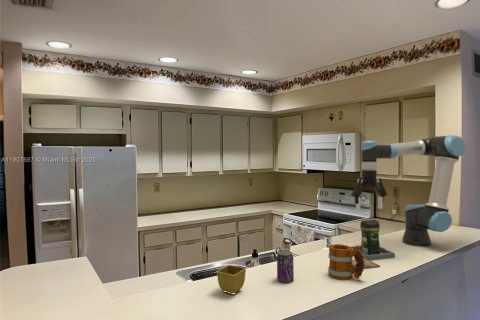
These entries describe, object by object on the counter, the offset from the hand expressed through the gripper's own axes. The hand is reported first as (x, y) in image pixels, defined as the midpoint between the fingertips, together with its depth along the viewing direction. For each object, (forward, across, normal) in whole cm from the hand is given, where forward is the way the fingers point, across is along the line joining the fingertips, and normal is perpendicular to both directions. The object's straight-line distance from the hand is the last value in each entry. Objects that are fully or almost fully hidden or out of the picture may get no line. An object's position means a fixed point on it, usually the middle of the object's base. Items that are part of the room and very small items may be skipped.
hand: (369, 209), depth 172 cm
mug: (+25, +30, +24) cm, 45 cm away
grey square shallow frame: (+24, 0, 0) cm, 24 cm away
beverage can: (+25, +56, +20) cm, 65 cm away
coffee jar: (+25, 0, 0) cm, 25 cm away
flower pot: (+25, +82, +25) cm, 89 cm away
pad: (+24, +13, +12) cm, 30 cm away
